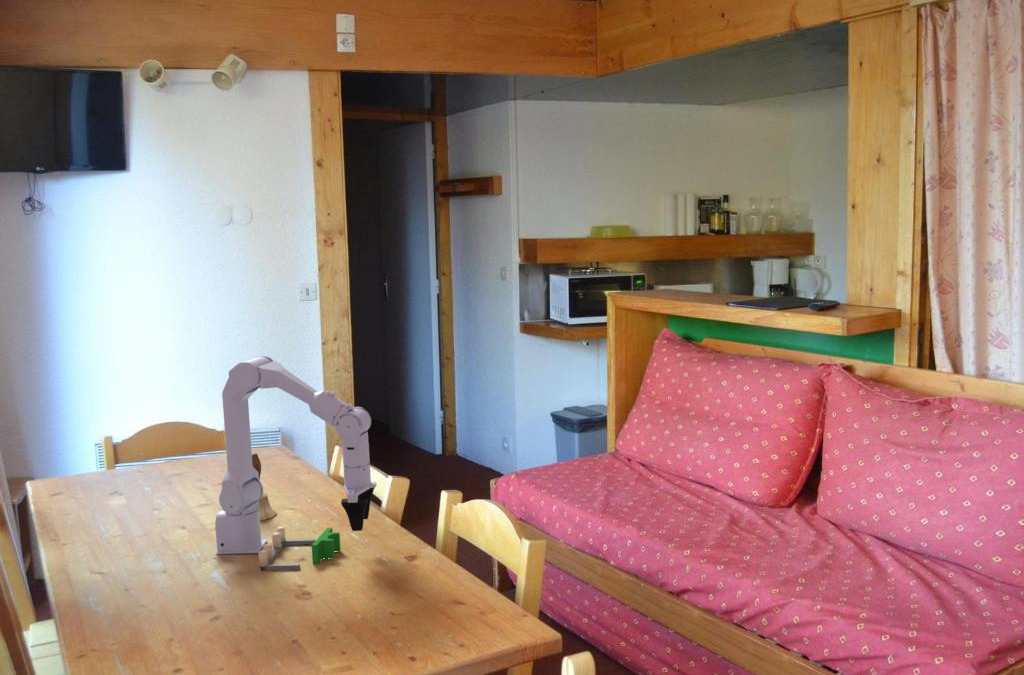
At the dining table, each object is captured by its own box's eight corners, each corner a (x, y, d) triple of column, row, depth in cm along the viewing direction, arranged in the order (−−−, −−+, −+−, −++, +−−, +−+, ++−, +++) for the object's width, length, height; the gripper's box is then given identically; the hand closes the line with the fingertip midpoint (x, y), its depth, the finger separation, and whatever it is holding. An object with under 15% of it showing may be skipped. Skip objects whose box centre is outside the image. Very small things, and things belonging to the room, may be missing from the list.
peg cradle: (258, 571, 205) (257, 553, 205) (278, 543, 222) (277, 526, 222) (298, 570, 205) (297, 552, 205) (315, 542, 222) (314, 525, 221)
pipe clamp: (329, 565, 208) (328, 545, 207) (312, 565, 208) (311, 545, 208) (344, 546, 219) (343, 527, 218) (328, 546, 219) (327, 527, 219)
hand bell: (235, 519, 240) (231, 457, 238) (256, 509, 248) (251, 448, 246) (263, 522, 237) (258, 459, 235) (283, 512, 245) (279, 451, 243)
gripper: (369, 473, 203) (373, 535, 205) (379, 455, 218) (383, 513, 219) (336, 474, 203) (340, 536, 205) (348, 456, 218) (352, 514, 220)
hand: (360, 524), depth 212 cm, fingers open, 7 cm apart
